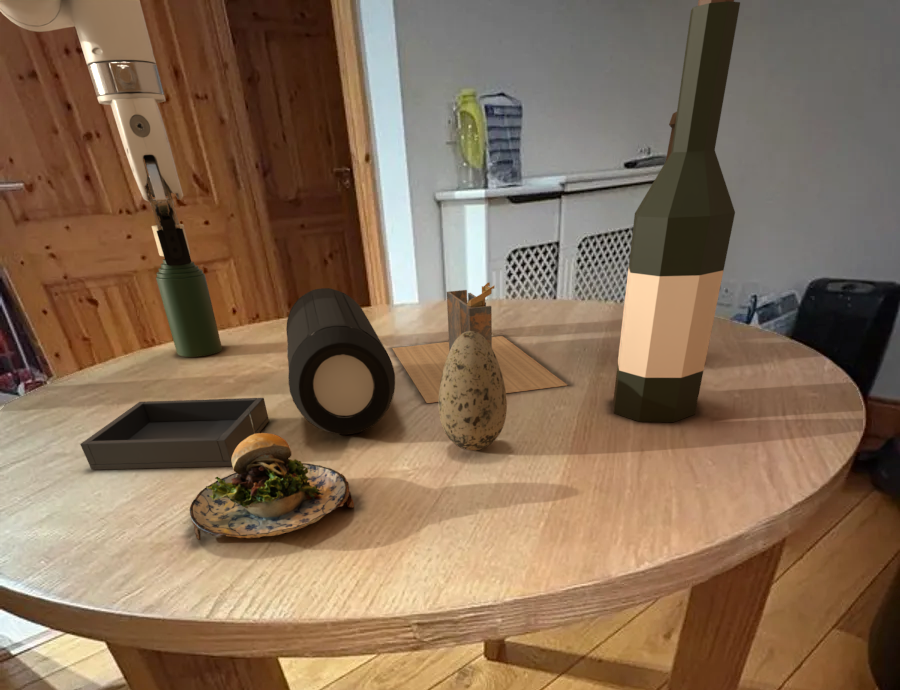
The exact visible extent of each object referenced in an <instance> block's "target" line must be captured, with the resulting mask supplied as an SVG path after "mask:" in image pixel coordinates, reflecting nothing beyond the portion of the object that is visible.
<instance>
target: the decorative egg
mask: <svg viewBox="0 0 900 690" xmlns="http://www.w3.org/2000/svg"><path fill="white" fill-rule="evenodd" d="M507 400H508V399H507V393H506V391H505V385H504V380H503V376H502V373H501V369H500V366H499V363H498V360H497V358H496V356H495V353H494V352H493V350H492V348H491V346H490V344H489V343H488V341H487V340H486V339H485V338H484V337H483V336H482V335H481V334H480V333H478V332H475V331H467V332H464V333H462V334H461V335H460V336H459V337H458V338H457V339H456V340H455V342H454V343H453V345H452V347H451V349H450V351H449V354H448V356H447V359H446V362H445V365H444V369H443V373H442V378H441V383H440V389H439V402H438V415H439V420H440V424H441V427H442V429H443V431H444V433H445V435H446V436H447V437H448V440H450V441H451V442H452V443H453V444H454V445H456V447H459V448H461V449H464V450H466V451H479V450H480V451H481V450H483V449H485V448H487V447H489V446H490V445H491V444H492V443H494V442H495V441H496V440H497V438H498V437H499V435H500V434H501V432H502V431H503V428H504V427H505V426H504V425H505V422H506V418H507V408H508V403H507V402H508V401H507Z"/></svg>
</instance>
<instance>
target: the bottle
mask: <svg viewBox="0 0 900 690" xmlns="http://www.w3.org/2000/svg"><path fill="white" fill-rule="evenodd" d="M155 280H156V284H157V287H158V290H159V291H158V292H159V294H160V297H161V301H162V304H163V308H164V312H165V315H166V319H167V323H168V326H169V327H168V328H169V330H170V333H171V337H172V340H173V344H174V348H175V352H176V355H178V356H180V357H185V358H195V357H196V358H197V357H205V356H206V357H207V356H211V355H216V354H217V353H220V352H222V351H223V347H222V342H221V341H222V340H221V337H220V334H219V329H218V324H217V320H216V316H215V312H214V308H213V304H212V299H211V294H210V290H209V286H208V282H207V278H206V274H205V273H204V272H203V269H201V268H199V265H196V263H195V261H193V260H191V263H190V264H182V265H173V266H169V265H167V264H166V261H165V258H164V259H162V263H160V267H159V268H158V271H157V272H156V277H155Z"/></svg>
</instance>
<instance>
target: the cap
mask: <svg viewBox="0 0 900 690" xmlns="http://www.w3.org/2000/svg"><path fill="white" fill-rule="evenodd" d="M179 225H180V229H181V228H182V229H183V232H184V236H185V240H186V243H187V247H188V251H189V254H190V255H191V249H190V245H189V241H188V237H187V233H186V228H185V225H184V224H183V223H179ZM175 227H176V226H175ZM151 229H152V233H153V237H154V241H155V244H156V248H157V252H158V255H159V256H160V257H164V254H163V251H162V248H161V244H160V241H159V238H158V234H157V231H158V227H157V224H155V225H151ZM162 230H163V229H162Z"/></svg>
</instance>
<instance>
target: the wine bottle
mask: <svg viewBox="0 0 900 690" xmlns="http://www.w3.org/2000/svg"><path fill="white" fill-rule="evenodd" d="M740 7H741V2H740V1H735V0H698V1H697V5H696V6H693V7H692V8H691V9H690V15H689V21H688V22H689V23H688V28H687V29H688V30H687V37H686V44H685V51H684V58H683V66H682V71H681V79H680V87H679V92H678V101H677V102H678V103H677V107H676V108H677V109H676V112H677V115H676V122H675V129H674V137H673V144H672V151H671V154H670V155H669V157H668V159H667V160H666V159H665V162H664V164H663V165H662V166H661V169H660V170H659V172H658V173H657V175H656V177H655V178H654V180H653V182H652V184H651V185H650V187H649V189H648V190H647V192H646V194H645V196H644V197H643V199H642V201H641V202H640V204H639V205H638V207H637V209H636V211H635V212H634V217H633V225H632V235H631V243H630V251H629V261H628V269H627V278H626V285H625V286H626V287H625V295H624V303H623V304H624V305H623V313H622V320H621V321H622V322H621V330H620V339H619V347H618V357H617V366H616V374H615V382H614V390H613V400H612V405H613V413H614V414H615V415H618V416H621V417H625V418H626V419H630V420H633V421H636V422H638V423H675V422H678V421H681V420H683V419H686V418H688V417H692V416H694V415H696V410H697V405H698V400H699V396H700V391H701V384H702V379H703V376H704V370H705V365H706V360H707V355H708V350H709V345H710V341H711V335H712V331H713V327H714V326H713V325H714V320H715V315H716V311H717V306H718V299H719V295H720V290H721V285H722V280H723V275H724V270H725V265H726V260H727V255H728V250H729V245H730V241H731V236H732V235H731V234H732V230H733V226H734V225H733V224H734V220H735V214H736V210H735V208H734V205H733V201H732V199H731V195H730V192H729V189H728V185H727V184H726V180H725V177H724V174H723V171H722V168H721V165H720V162H719V159H718V156H717V153H716V145H717V139H718V134H719V127H720V123H721V116H722V111H723V105H724V99H725V93H726V87H727V81H728V77H729V70H730V64H731V59H732V53H733V48H734V47H733V46H734V41H735V35H736V30H737V24H738V18H739V12H740Z"/></svg>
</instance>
